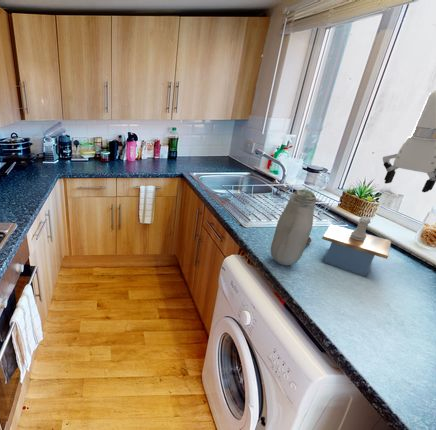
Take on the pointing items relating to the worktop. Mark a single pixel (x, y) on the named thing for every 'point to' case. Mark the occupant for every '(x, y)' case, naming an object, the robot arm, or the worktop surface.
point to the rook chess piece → (360, 229)
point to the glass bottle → (293, 228)
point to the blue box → (349, 258)
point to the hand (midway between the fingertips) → (405, 187)
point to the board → (368, 245)
